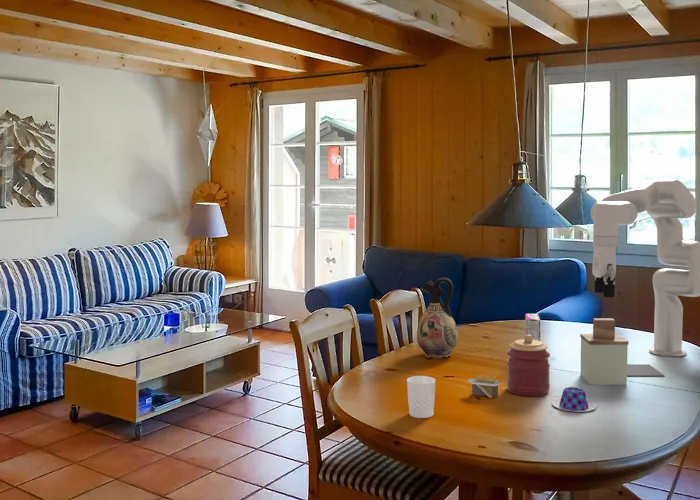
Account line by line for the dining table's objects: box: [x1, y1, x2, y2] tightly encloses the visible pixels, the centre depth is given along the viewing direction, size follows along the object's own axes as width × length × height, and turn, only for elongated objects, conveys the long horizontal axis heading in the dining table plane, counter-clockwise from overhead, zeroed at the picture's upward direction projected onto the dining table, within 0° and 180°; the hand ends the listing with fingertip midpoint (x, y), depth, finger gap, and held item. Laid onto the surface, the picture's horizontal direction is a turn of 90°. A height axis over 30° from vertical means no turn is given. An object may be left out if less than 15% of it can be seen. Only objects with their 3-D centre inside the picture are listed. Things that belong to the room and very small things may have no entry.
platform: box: [468, 374, 503, 399], centre depth 209 cm, size 12×18×7 cm, turn 66°
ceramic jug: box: [416, 277, 459, 359], centre depth 258 cm, size 17×15×30 cm
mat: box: [627, 363, 665, 378], centre depth 235 cm, size 14×14×1 cm
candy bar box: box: [524, 313, 541, 341], centre depth 249 cm, size 11×5×16 cm, turn 168°
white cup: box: [406, 375, 436, 419], centre depth 194 cm, size 8×8×10 cm
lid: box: [579, 317, 629, 345], centre depth 223 cm, size 11×12×8 cm
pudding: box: [551, 386, 597, 413], centre depth 199 cm, size 12×12×5 cm
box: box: [579, 337, 629, 386], centre depth 224 cm, size 11×12×13 cm
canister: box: [506, 334, 551, 397], centre depth 214 cm, size 13×13×18 cm
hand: (604, 294), depth 222 cm, fingers open, 9 cm apart
